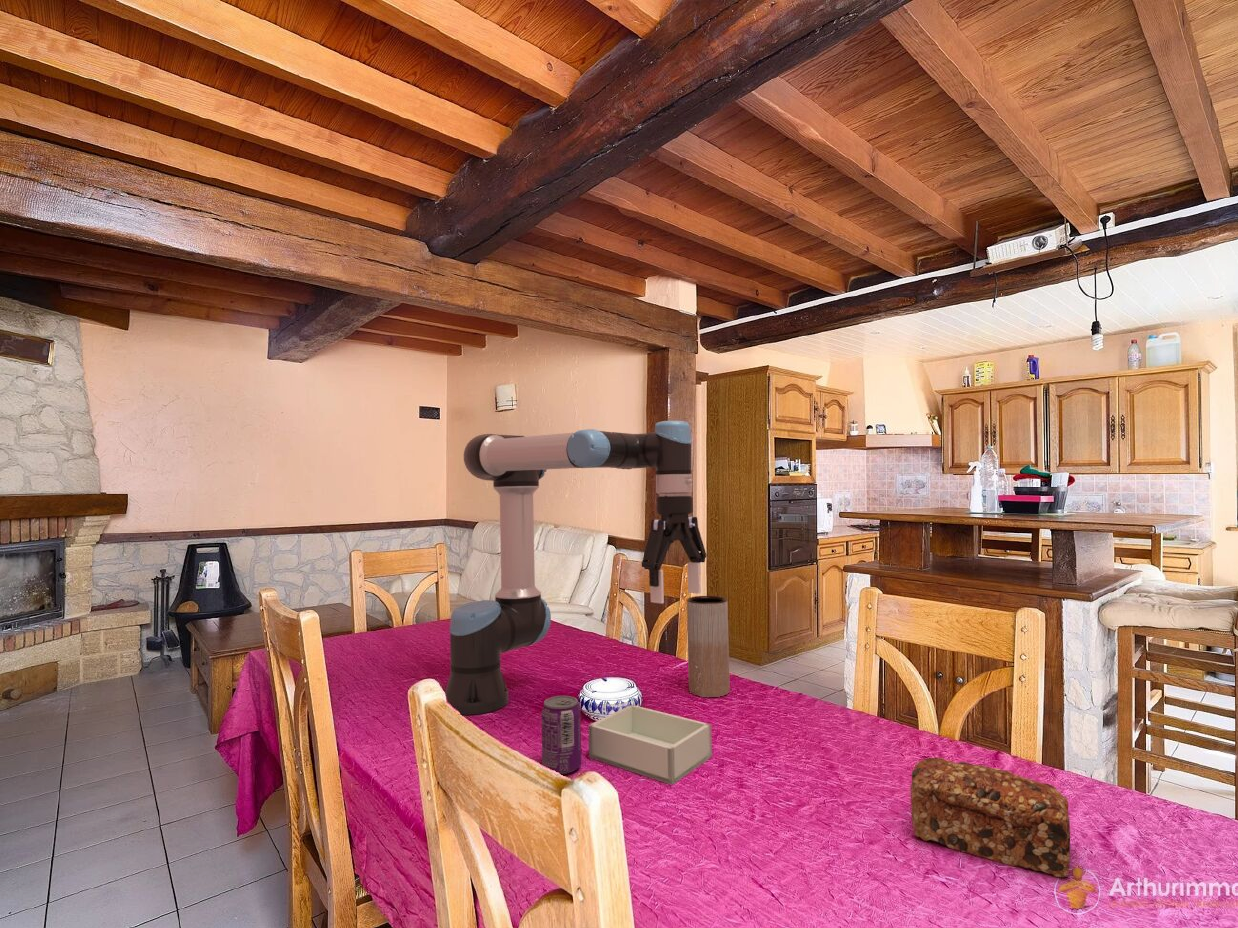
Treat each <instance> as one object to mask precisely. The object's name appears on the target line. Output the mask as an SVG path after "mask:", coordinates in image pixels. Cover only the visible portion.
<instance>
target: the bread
mask: <svg viewBox="0 0 1238 928" xmlns="http://www.w3.org/2000/svg"><path fill="white" fill-rule="evenodd" d="M910 806H911V808H910V811H911V822H912V827H913V831H914V836H915V837H917V838H919V839H922V840H923V841H924V842H928V841H932V842H937V843H939V844H940V845H942V846H947V848H950V849H952V850H956V851H958V852H959V851H961V853H963V854H964V853H966V854H971V855H974V856H977V857H980V858H983V859H986V860H990V861H994V862H997V863H1000V864H1004V865H1008V866H1011V867H1020V868H1021V867H1022V868H1024V869H1031V870H1033V871H1035V872H1038V871H1040V872H1043V873H1045V874H1049V875H1052V876H1054V877H1056V878H1065V877H1067V876H1069V874H1070V865H1071V863H1070V862H1071V861H1070V858H1071V824H1070V823H1071V822H1070V817H1069V814H1070V813H1069V801H1068V798H1067V797H1066V796H1064V795H1063V794H1062V792H1061V791H1060V790H1058V789H1057V788H1056V786H1054V785H1052V784H1049V783H1043V782H1040V781H1039V782H1038V781H1035V780H1033V779H1030V778H1026V777H1024V776H1020V775H1017V774H1015V773H1013V772H1011V771H1008V770H1007V769H1000V768H996V767H989V766H985V765H982V764H973V763H969V762H965V761H960V762H954V761H950V760H947V759H945V758H944V757H937V756H936V757H927V758H923V759H922V760H920V761H918V762H916V763H915V766H914V767H913V769H912V772H911V785H910Z"/></svg>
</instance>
